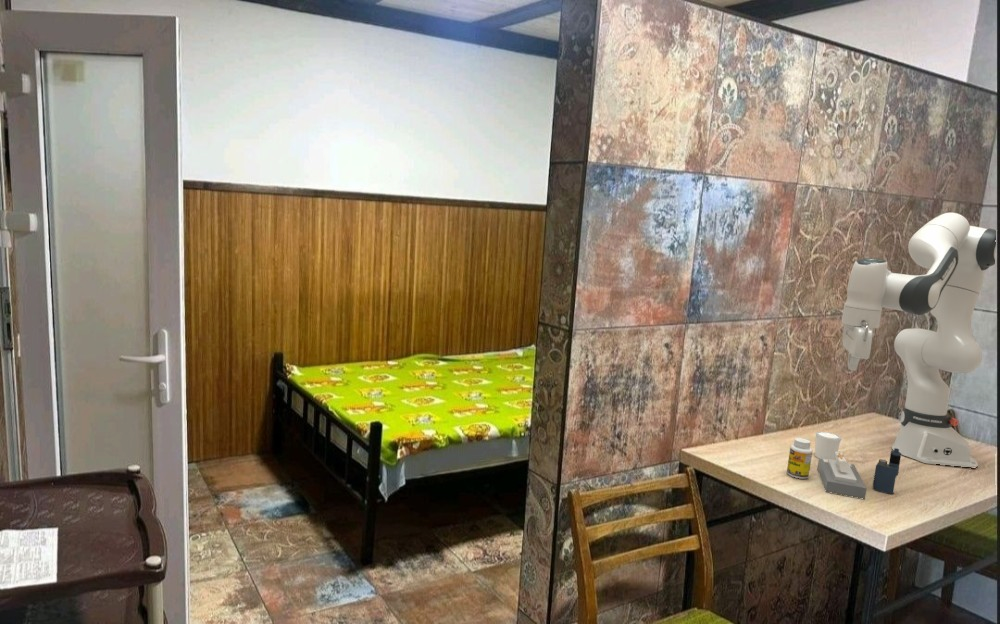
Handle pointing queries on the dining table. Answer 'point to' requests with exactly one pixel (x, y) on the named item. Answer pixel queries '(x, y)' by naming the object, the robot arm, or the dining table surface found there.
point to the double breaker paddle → (841, 461)
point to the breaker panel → (841, 479)
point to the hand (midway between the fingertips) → (851, 369)
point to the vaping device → (887, 473)
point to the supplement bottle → (799, 459)
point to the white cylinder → (826, 445)
